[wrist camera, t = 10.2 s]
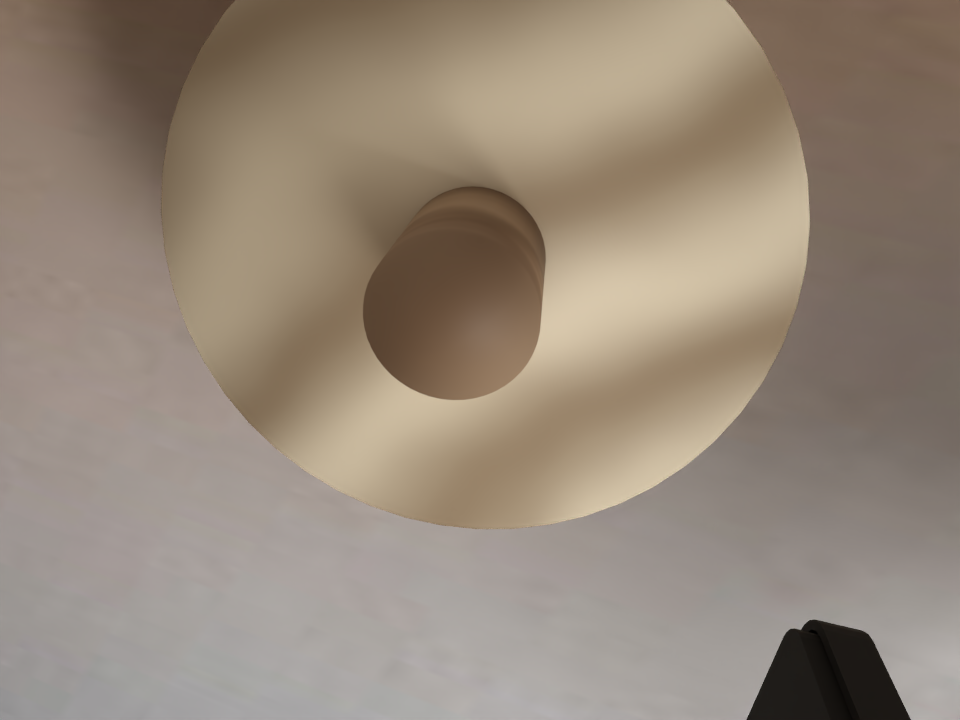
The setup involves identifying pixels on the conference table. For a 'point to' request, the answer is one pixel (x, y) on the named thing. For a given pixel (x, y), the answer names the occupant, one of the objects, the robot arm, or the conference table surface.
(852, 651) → the robot arm
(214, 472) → the conference table surface
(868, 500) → the conference table surface
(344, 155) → the lid
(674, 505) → the conference table surface
